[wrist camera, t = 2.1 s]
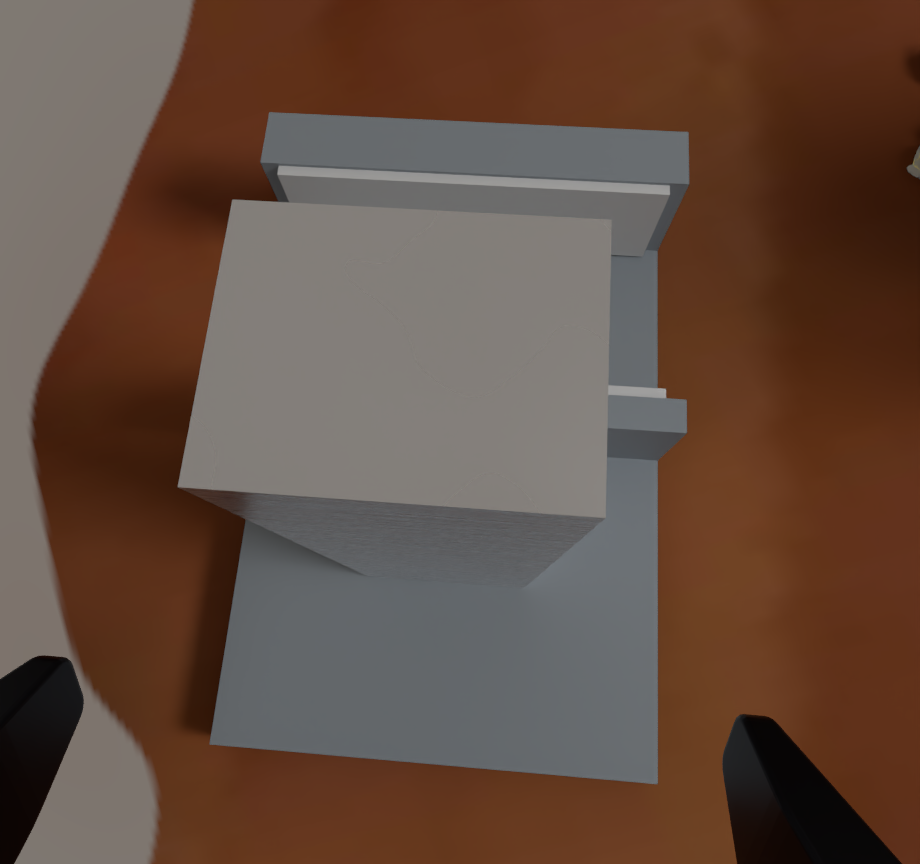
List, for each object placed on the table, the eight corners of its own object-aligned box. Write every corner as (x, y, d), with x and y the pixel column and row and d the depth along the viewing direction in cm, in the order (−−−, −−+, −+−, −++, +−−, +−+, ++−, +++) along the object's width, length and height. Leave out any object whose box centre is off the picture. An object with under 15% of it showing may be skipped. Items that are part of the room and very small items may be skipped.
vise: (648, 776, 19) (698, 819, 15) (222, 738, 20) (150, 770, 15) (650, 208, 24) (688, 116, 20) (308, 190, 25) (272, 96, 20)
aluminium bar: (524, 588, 20) (605, 517, 7) (366, 576, 20) (176, 487, 7) (529, 467, 21) (611, 219, 8) (380, 457, 21) (232, 199, 8)
